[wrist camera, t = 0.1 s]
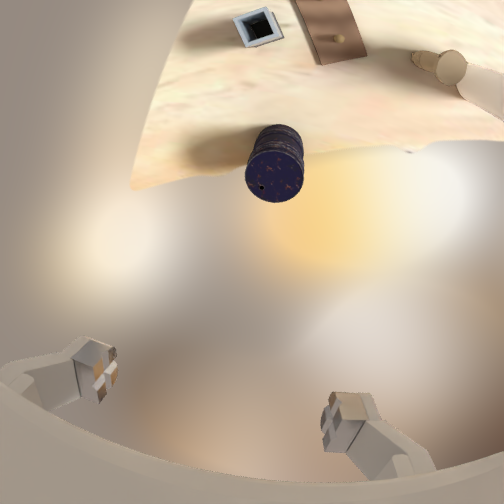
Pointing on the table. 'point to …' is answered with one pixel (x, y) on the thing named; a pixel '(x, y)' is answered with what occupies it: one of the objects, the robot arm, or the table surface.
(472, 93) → the alcohol
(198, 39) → the table surface
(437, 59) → the handle
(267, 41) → the sleeve
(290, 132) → the black cylinder
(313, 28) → the pin board
